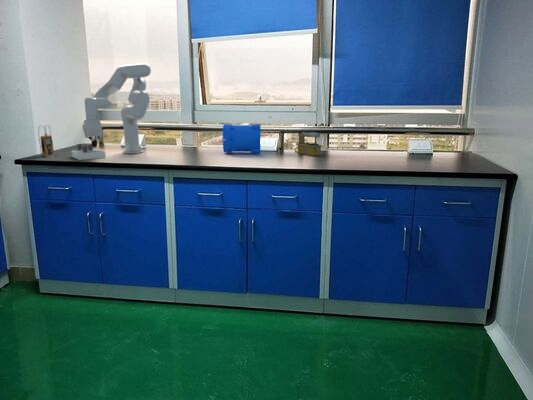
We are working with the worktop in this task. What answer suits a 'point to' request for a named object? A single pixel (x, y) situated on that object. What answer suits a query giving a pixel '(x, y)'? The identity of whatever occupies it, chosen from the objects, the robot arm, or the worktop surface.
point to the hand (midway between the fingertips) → (94, 146)
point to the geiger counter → (309, 145)
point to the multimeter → (46, 145)
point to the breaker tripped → (89, 147)
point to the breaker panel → (88, 154)
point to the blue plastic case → (241, 138)
